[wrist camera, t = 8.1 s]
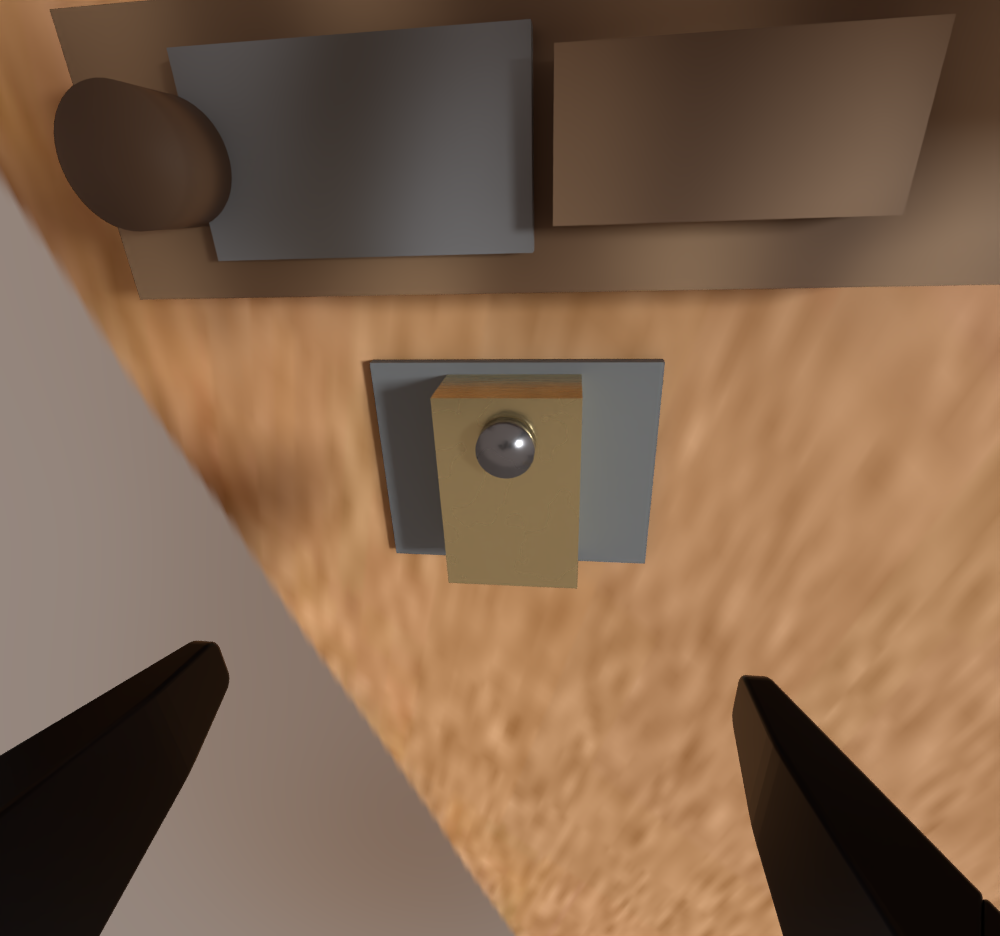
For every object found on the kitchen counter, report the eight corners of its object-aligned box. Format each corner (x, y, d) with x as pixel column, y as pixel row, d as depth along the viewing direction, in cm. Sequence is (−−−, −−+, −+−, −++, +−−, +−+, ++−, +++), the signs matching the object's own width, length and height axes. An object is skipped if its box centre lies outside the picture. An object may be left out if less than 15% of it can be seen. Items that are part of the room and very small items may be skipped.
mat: (662, 359, 18) (664, 362, 18) (643, 557, 22) (644, 563, 21) (373, 359, 19) (369, 362, 19) (399, 547, 23) (396, 552, 23)
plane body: (995, -15, 13) (1308, -170, 8) (916, 265, 16) (1103, 302, 10) (165, 50, 16) (-59, -30, 10) (222, 280, 19) (70, 316, 13)
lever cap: (576, 547, 21) (577, 599, 19) (461, 543, 22) (445, 593, 19) (581, 373, 18) (582, 405, 16) (447, 374, 19) (425, 405, 16)
